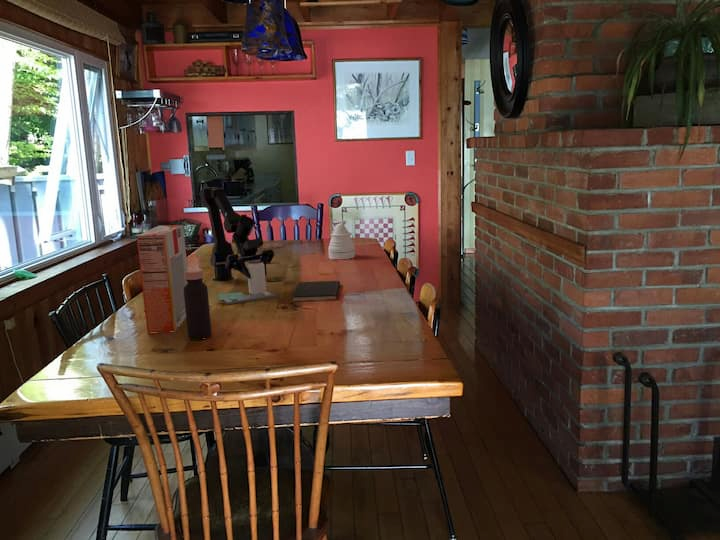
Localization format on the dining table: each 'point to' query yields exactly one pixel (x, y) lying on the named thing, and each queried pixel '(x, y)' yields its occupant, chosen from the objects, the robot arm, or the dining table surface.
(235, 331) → the dining table surface
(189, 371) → the dining table surface
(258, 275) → the can
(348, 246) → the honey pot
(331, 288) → the hardcover book
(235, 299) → the legend board
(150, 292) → the cereal box
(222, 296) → the pad
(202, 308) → the bottle
